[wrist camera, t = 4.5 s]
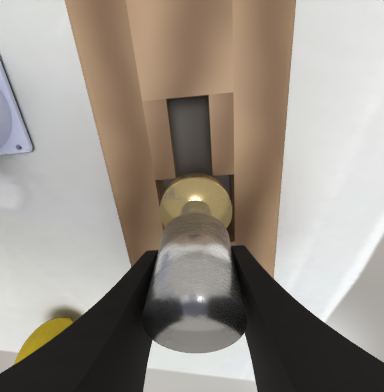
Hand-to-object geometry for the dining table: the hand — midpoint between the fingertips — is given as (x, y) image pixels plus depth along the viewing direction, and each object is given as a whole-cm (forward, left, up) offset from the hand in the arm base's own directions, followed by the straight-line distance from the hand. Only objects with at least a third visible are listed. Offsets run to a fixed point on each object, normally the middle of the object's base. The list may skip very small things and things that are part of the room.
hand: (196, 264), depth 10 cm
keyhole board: (0, +3, -10) cm, 11 cm away
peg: (0, +1, -5) cm, 5 cm away
